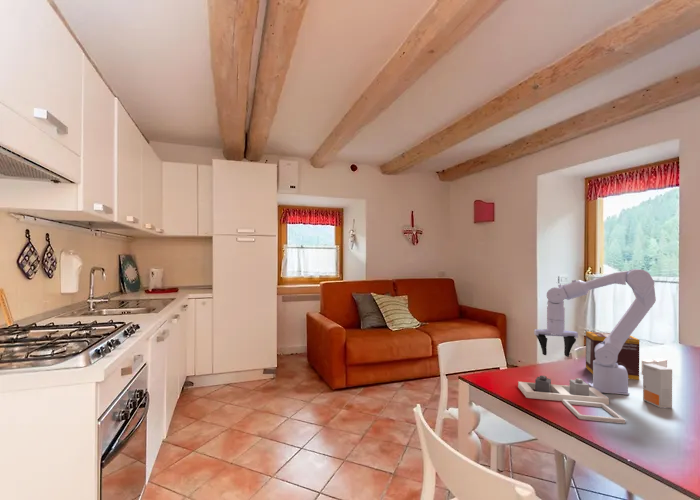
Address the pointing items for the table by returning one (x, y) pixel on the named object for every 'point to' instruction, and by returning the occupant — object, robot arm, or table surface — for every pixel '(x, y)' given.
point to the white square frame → (597, 418)
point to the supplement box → (625, 357)
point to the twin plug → (579, 387)
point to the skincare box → (657, 385)
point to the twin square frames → (561, 393)
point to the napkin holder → (655, 362)
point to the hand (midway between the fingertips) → (555, 355)
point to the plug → (543, 384)
